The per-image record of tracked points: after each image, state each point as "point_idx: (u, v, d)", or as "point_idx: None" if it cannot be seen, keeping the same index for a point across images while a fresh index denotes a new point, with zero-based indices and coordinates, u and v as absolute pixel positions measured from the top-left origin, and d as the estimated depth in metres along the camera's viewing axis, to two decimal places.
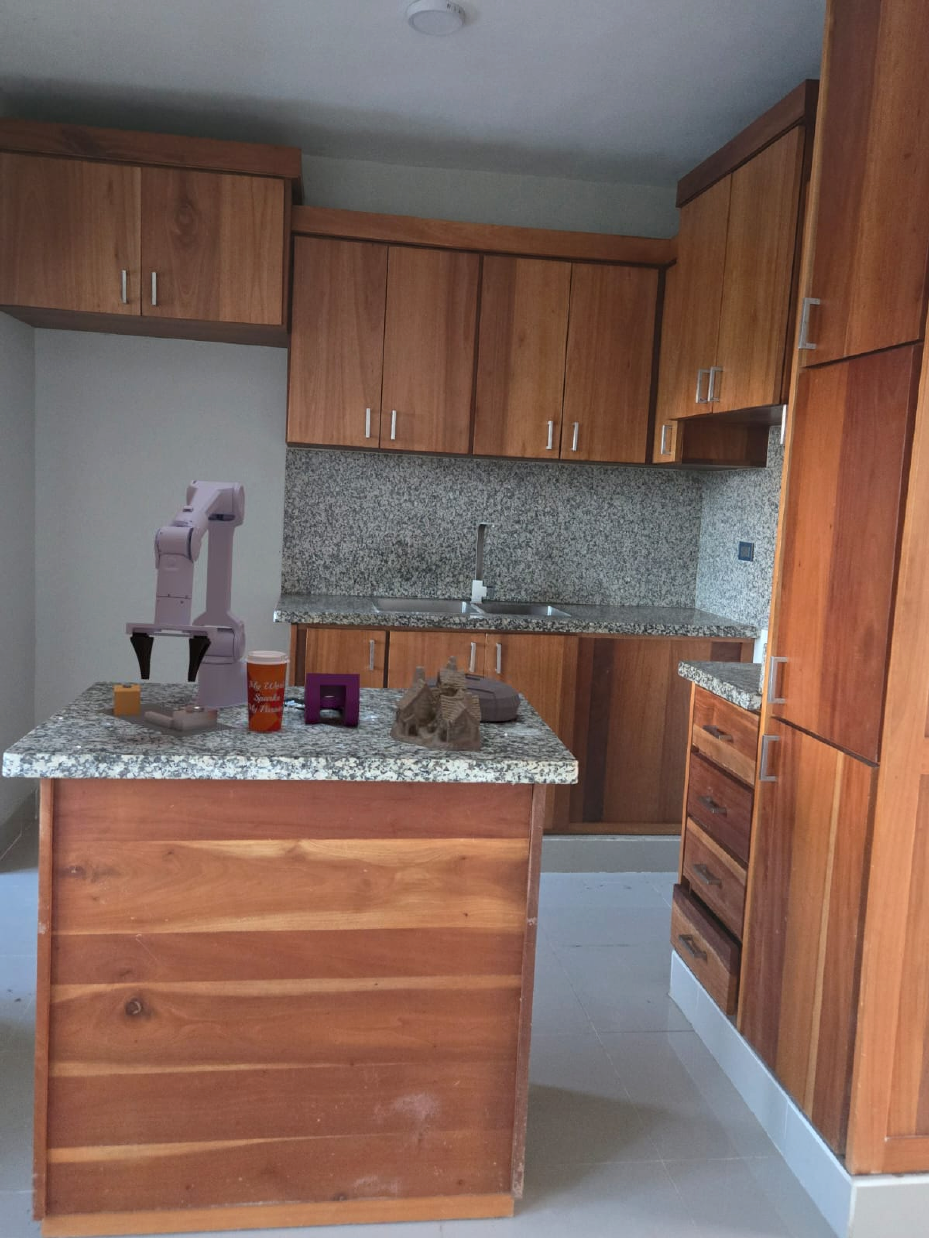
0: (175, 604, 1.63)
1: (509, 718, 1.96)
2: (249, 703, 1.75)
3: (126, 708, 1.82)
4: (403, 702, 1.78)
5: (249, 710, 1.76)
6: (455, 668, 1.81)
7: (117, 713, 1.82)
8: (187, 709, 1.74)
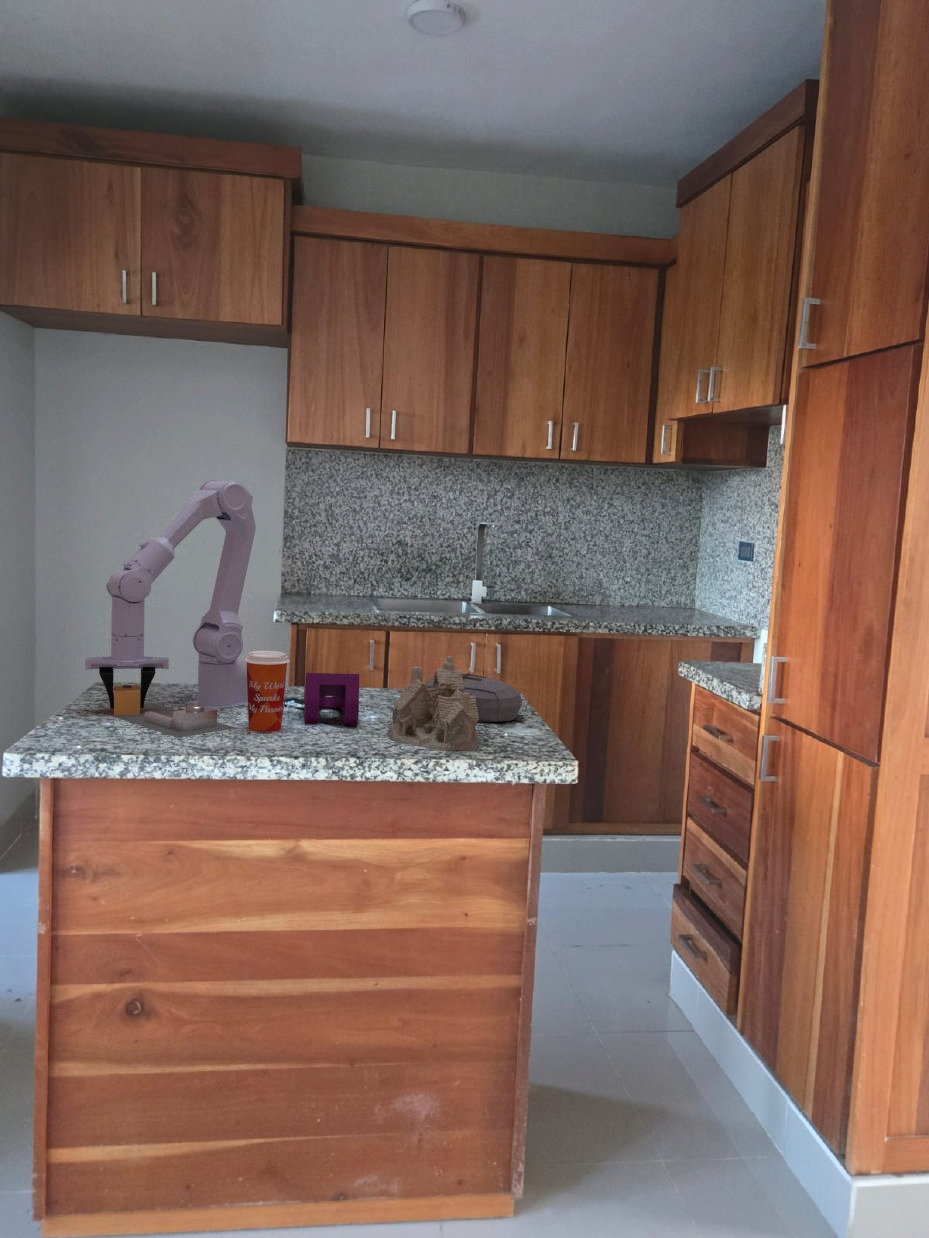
0: (134, 642, 1.82)
1: (511, 718, 1.96)
2: (249, 703, 1.75)
3: (126, 708, 1.82)
4: (400, 702, 1.78)
5: (249, 710, 1.76)
6: (452, 668, 1.81)
7: (117, 713, 1.82)
8: (187, 709, 1.74)
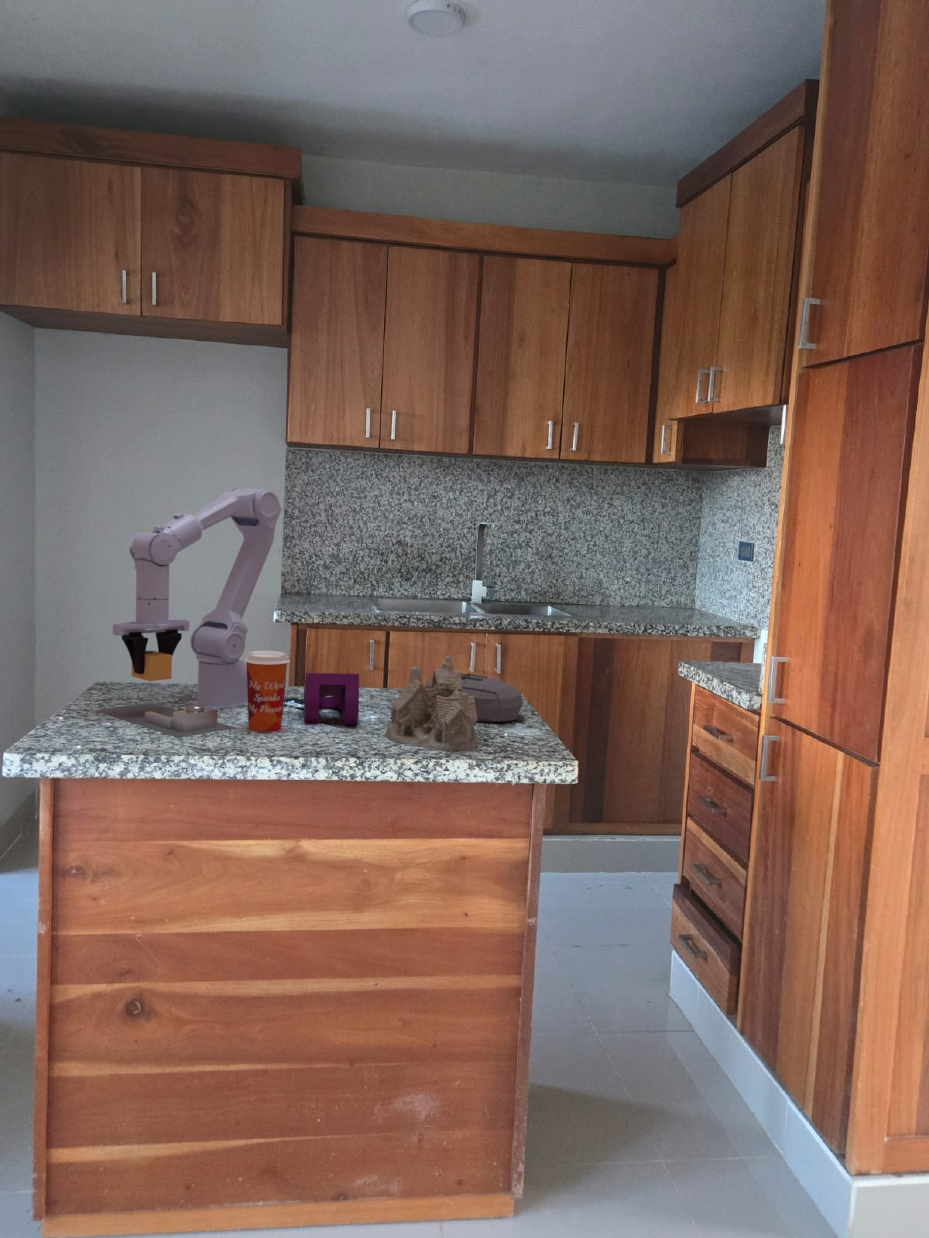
0: (165, 605, 1.81)
1: (512, 718, 1.96)
2: (249, 703, 1.75)
3: (159, 673, 1.82)
4: (399, 703, 1.77)
5: (249, 710, 1.76)
6: (451, 668, 1.80)
7: (152, 679, 1.80)
8: (187, 709, 1.74)
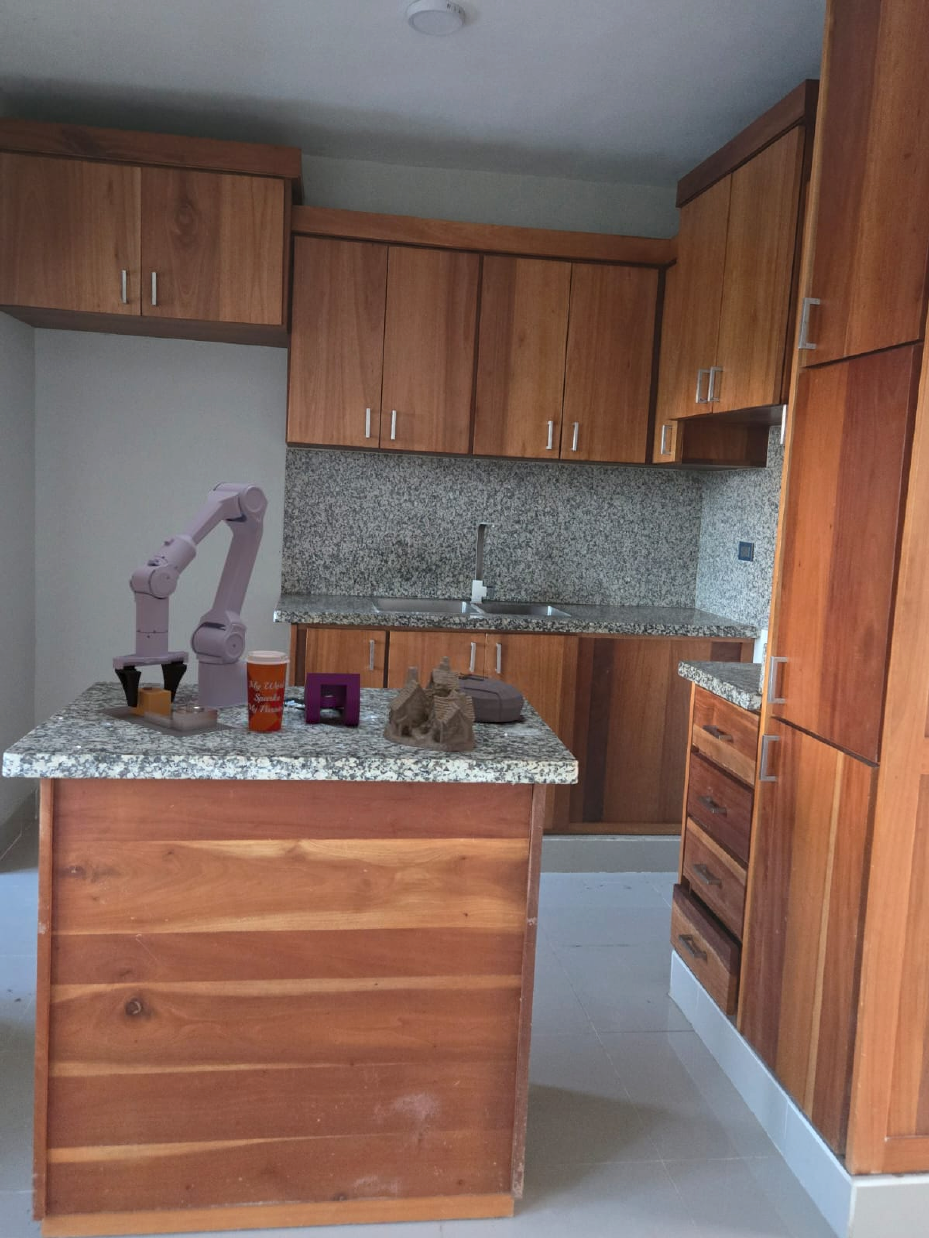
0: (165, 638, 1.82)
1: (513, 719, 1.96)
2: (249, 703, 1.75)
3: (158, 709, 1.82)
4: (396, 703, 1.77)
5: (249, 710, 1.76)
6: (448, 668, 1.80)
7: None
8: (187, 709, 1.74)
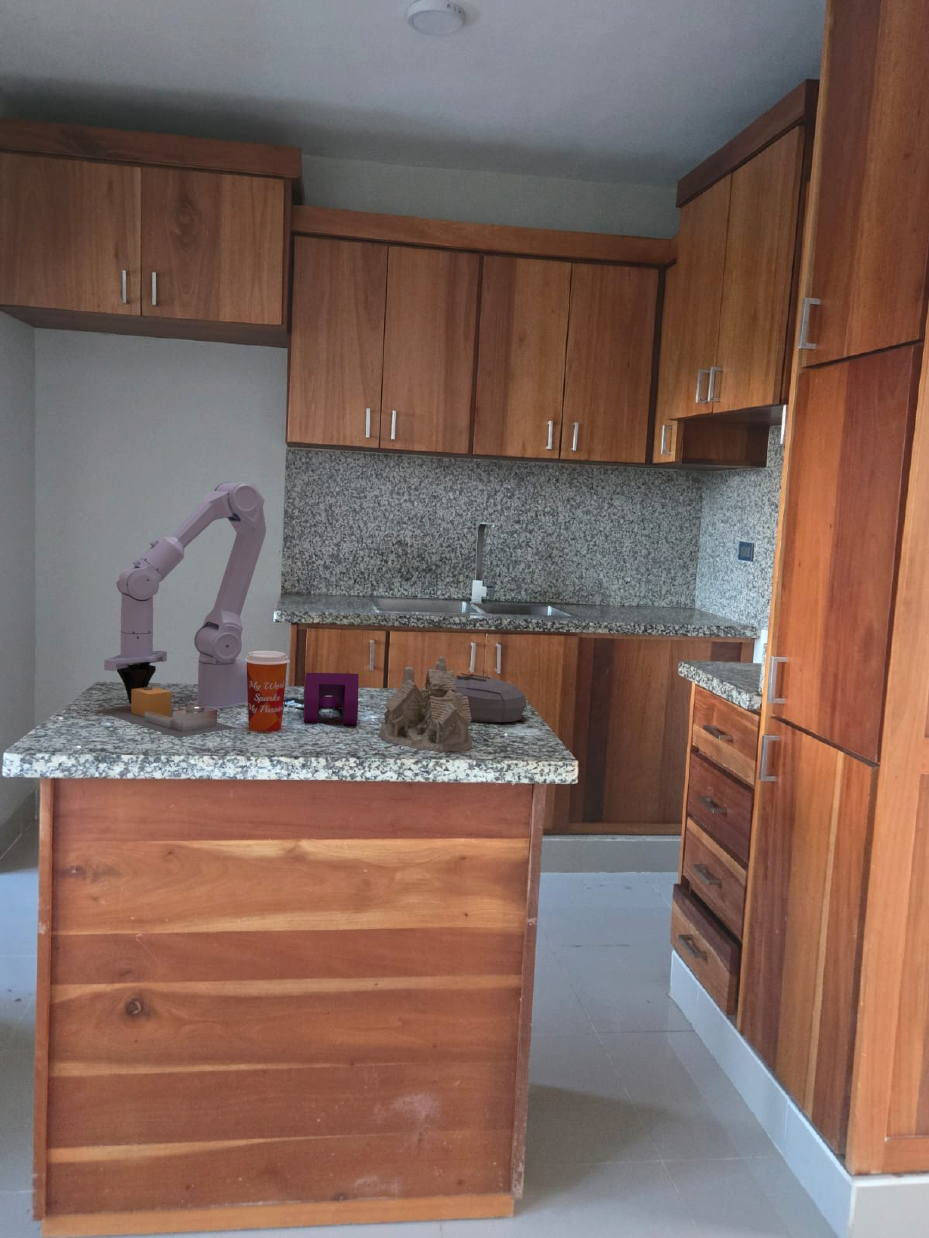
0: (152, 638, 1.86)
1: (516, 719, 1.96)
2: (249, 703, 1.75)
3: (159, 709, 1.82)
4: (392, 703, 1.77)
5: (249, 710, 1.76)
6: (444, 669, 1.80)
7: None
8: (187, 709, 1.74)
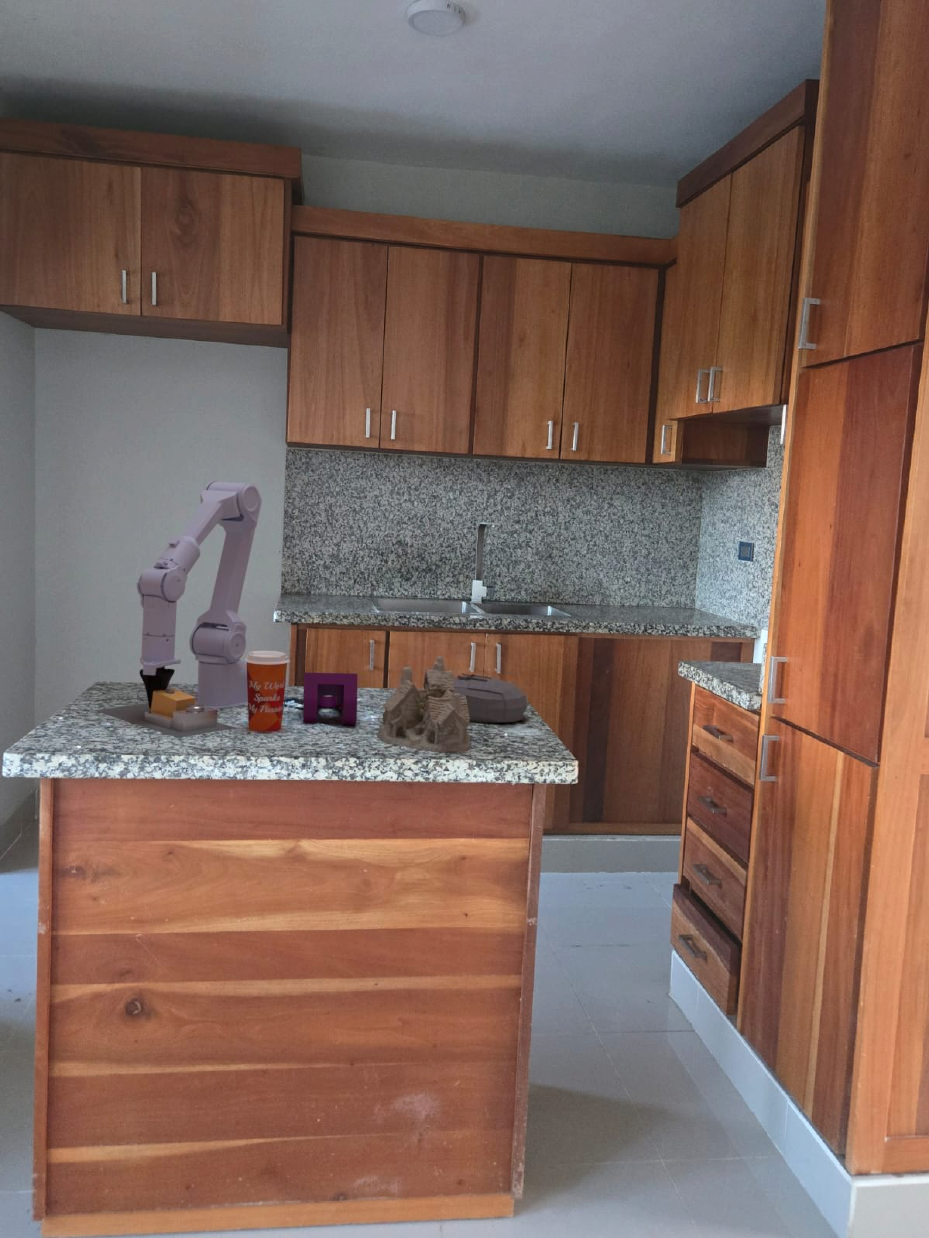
0: None
1: (517, 719, 1.96)
2: (249, 703, 1.75)
3: None
4: (390, 704, 1.76)
5: (249, 710, 1.76)
6: (442, 669, 1.79)
7: None
8: (187, 709, 1.74)
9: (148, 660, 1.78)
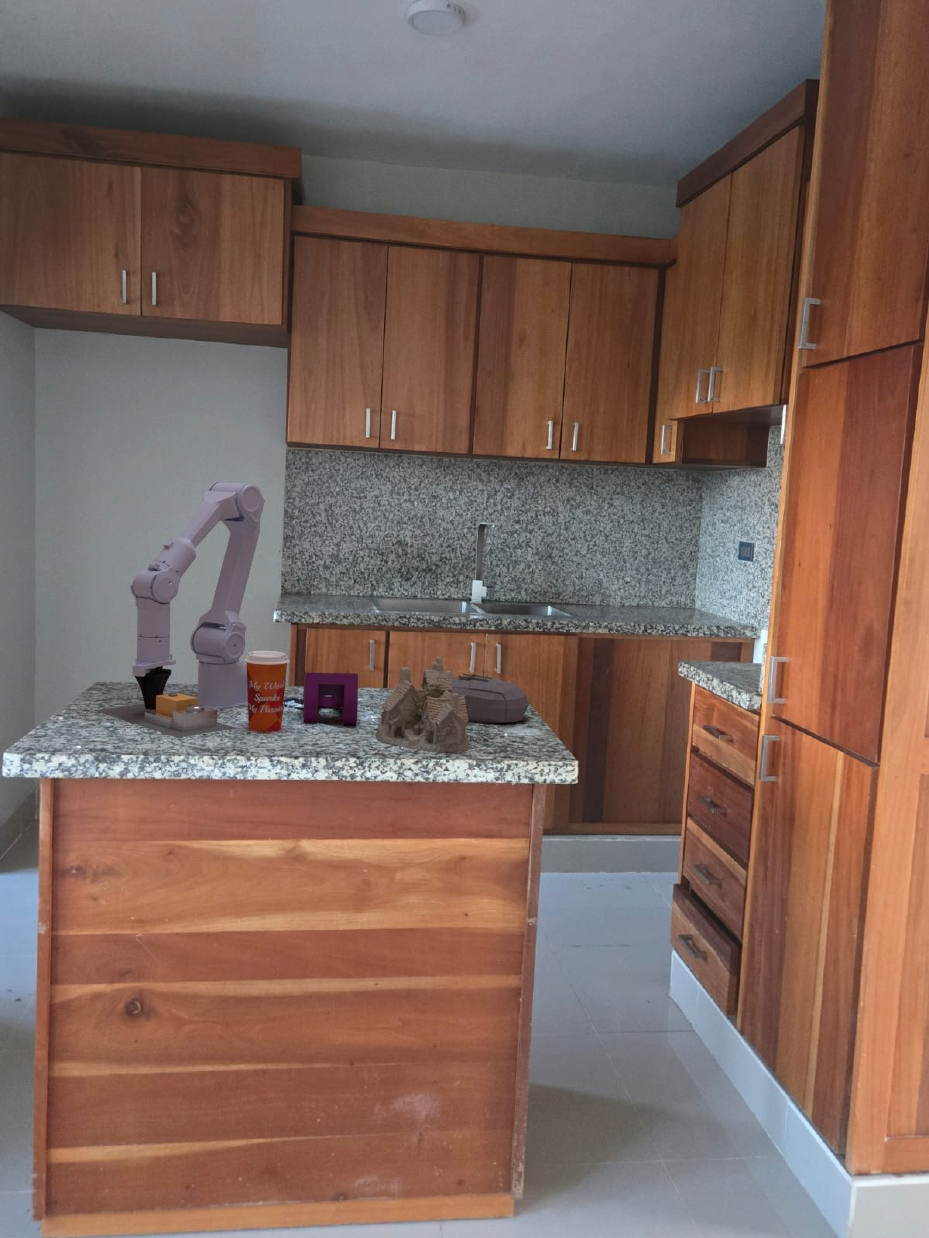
0: (169, 641, 1.84)
1: (518, 719, 1.96)
2: (249, 703, 1.75)
3: None
4: (389, 704, 1.76)
5: (249, 710, 1.76)
6: (441, 669, 1.79)
7: None
8: (187, 709, 1.74)
9: (141, 661, 1.80)
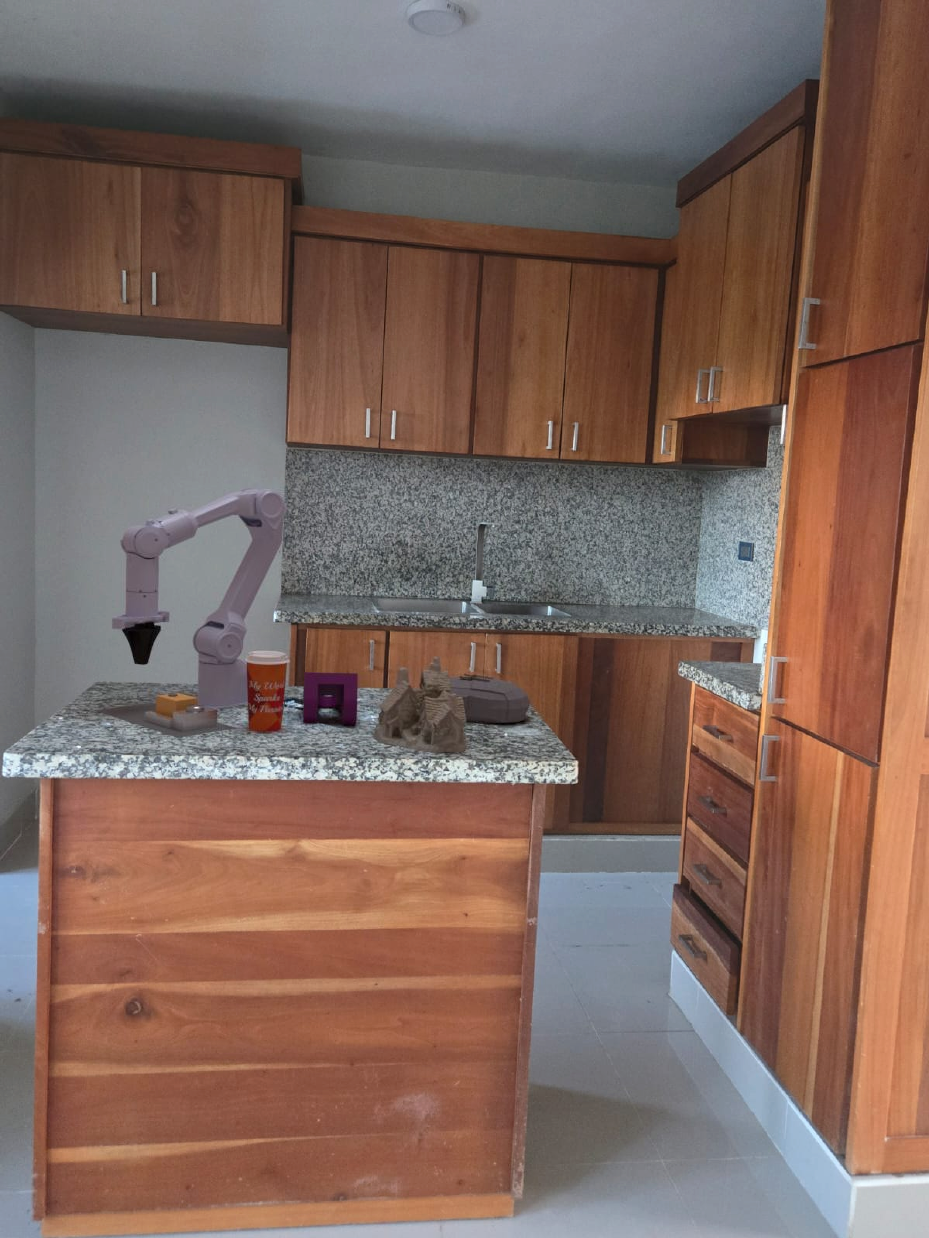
0: (157, 597, 1.85)
1: (520, 719, 1.95)
2: (249, 703, 1.75)
3: None
4: (386, 704, 1.76)
5: (249, 710, 1.76)
6: (439, 669, 1.79)
7: None
8: (187, 709, 1.74)
9: (127, 615, 1.83)
